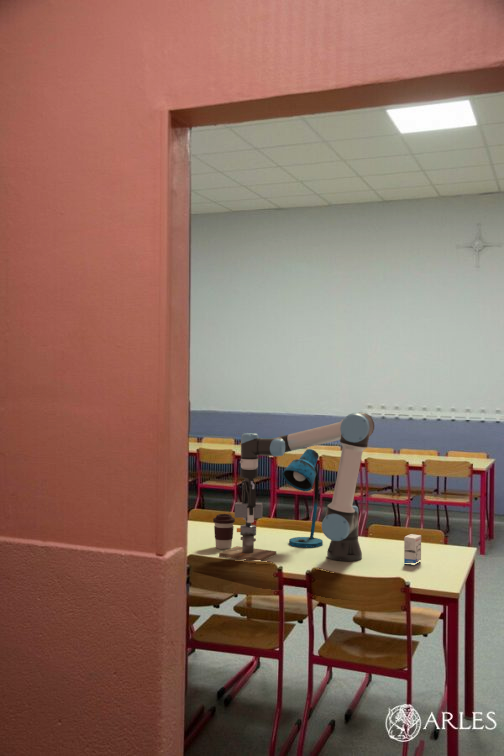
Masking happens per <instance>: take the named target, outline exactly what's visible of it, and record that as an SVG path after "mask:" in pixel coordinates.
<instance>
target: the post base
mask: <svg viewBox="0 0 504 756" xmlns="http://www.w3.org/2000/svg"><path fill="white" fill-rule="evenodd" d="M240 540H241V541H242V542H241V543H242V546H238V545H236V546H233V547H231V548H229V549H225V550H224V551H221V552H219V553H218V555H219V556H218V557H222V558H228V559H236V560H241V559H246V560H245V561H248V560H263V561H266V560H267V559H270V558H272V557H274V556H277V550H270V549H261V548H255V547H254V545H255V544H254V543H255V542H256V541H257V538H256V537H255V536H241V537H240Z"/></svg>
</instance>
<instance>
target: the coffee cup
mask: <svg viewBox="0 0 504 756" xmlns="http://www.w3.org/2000/svg"><path fill="white" fill-rule="evenodd" d="M235 518H236V517H233V516H232V514H228V513H219V514H217V515H216V516H215V517H213V519H212V520H213V523H214V527H213V528H214V539H215V548H217V549H220V550H228V549H231V548H233V547H232V546H233V545H232V544H233V543H232V542H233V539H234V538H233V537H234V523H235V522H236V519H235Z"/></svg>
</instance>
